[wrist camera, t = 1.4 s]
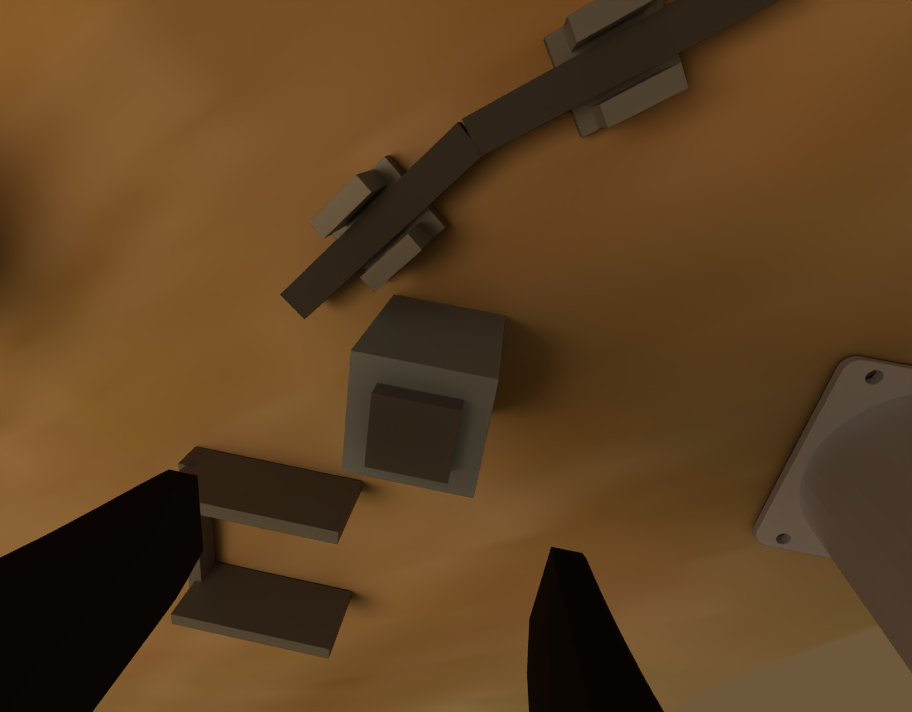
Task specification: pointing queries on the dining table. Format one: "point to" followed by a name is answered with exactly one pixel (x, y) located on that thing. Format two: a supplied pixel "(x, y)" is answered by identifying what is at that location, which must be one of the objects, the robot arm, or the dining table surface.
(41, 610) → the robot arm
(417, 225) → the clip
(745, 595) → the dining table surface
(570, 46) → the clip
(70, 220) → the dining table surface
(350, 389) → the block
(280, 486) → the end holder
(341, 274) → the cable
